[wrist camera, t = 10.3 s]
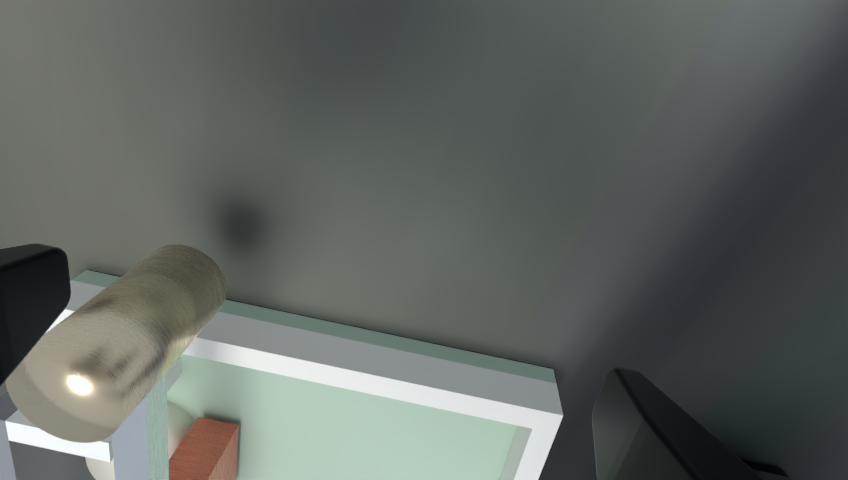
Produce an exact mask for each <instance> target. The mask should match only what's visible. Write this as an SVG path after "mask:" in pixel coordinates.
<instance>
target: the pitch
mask: <svg viewBox="0 0 848 480" xmlns="http://www.w3.org/2000/svg"><path fill="white" fill-rule="evenodd" d="M118 278H120V277H117V276H113V275H108V274H103V273H99V272H94V271H89V270H86V271H84V272H83V273H81V274H80V275H78V276H77V277H75V278H74V279H72V280H71V281H70V286H71V297H70V301H69V303H68V305H67V307H66V308H65V310H64V311H63V312H62V313H61V314H60V316H59V317H58V318H57V319H56V321H55V322H54V323H53V324H52V325H51V327H50V328H49V329H48V330H47V331H46V333H47V332H48V331H49V330H51V329H52V328H53V327H55V326H56V325H57V324H59V323H60V322H61V321H63V320H64V319H65V318H67V317H68V316H69V315H71V314H72V313H73V312H75V311H76V310H77V309H79V308H80V307H81V306H83V305H84V304H85V303H87V302H88V301H89V300H91V299H92V298H93V297H95V296H96V295H97V294H99V293H100V292H101V291H102V290H104V289H105V288H106V287H108V286H109V285H110V284H112V283H113V282H114V281H116V280H117V279H118ZM167 400H168V401H170V402H172V403H174V404H176V405H178V406H180V407H181V408H183V409H184V410H185V411H186V412H188V413H189V414H190V415H191V416H192V418H193V419H194V420H195V421H196V420H197V418H198V417H203V418H208V419H212V420H217V421H221V422H226V423H231V424H235V425H239V431H238V450H237V470H236V480H538V479H539V476H540V474H541V471H542V468H543V466H544V463H545V461H546V458H547V456H548V453H549V451H550V448H551V445H552V443H553V440H554V438H555V435H556V433H557V430H558V428H559V425H560V422H561V420H562V417H563V412H562V408H561V403H560V398H559V393H558V389H557V384H556V379H555V375H554V370H553V369H550V368H545V367H540V366H536V365H531V364H526V363H521V362H517V361H512V360H507V359H503V358H498V357H493V356H489V355H484V354H479V353H474V352H470V351H465V350H460V349H456V348H451V347H446V346H442V345H437V344H432V343H428V342H423V341H418V340H413V339H409V338H404V337H399V336H395V335H390V334H385V333H381V332H376V331H371V330H366V329H362V328H357V327H352V326H348V325H343V324H338V323H334V322H329V321H324V320H319V319H315V318H310V317H305V316H301V315H296V314H291V313H287V312H282V311H277V310H272V309H268V308H263V307H258V306H254V305H249V304H244V303H240V302H235V301H230V300H226V299H225V302H224V304H223V306H222V307H221V309H220V310H219V311H218V312H217V313H216V314H215V316H214V317H213V318H212V319H211V320H210V322H209V323H208V324H207V325H206V326H205V327H204V329H203V330H202V331H201V332H200V333H199V334H198V336H197V337H196V338H195V339H194V340H193V341H192V343H191V344H190V345H189V346H188V347H187V348H186V350H185V351H184V352H183V353H182V354H181V355H180V357H179V358H178V359H177V360H176V361H175V362H174V364H173V365H172V366H171V367H170V368H169V369H168V371H167ZM85 457H88V458H93V459H97V460H102V461H107V462H111V461H112V460H113V449H112V437H111V436H109V437H108V438H106V439H104V440H101V441H97V442H91V443H79V442H72V441H67V440H63V439H60V438H58V437H55V436H53V435H51V434H48V433H47V432H45V431H43V430H41V429H40V428H38V427H37V426H35V425H34V424H33V423H31V422H30V421H29V420H28V419H27V418H26V417H25V416H24V415H23V414H22V413H21V412H20V411H19V410H18V409H17V407H16V406H15V404H14V403H13V401H12V399H11V398H10V395H9V393H8V392H7V393H6V394H5V395H3V396H2V397H1V398H0V480H96V479H95V478H94V477H93V476H92V474H91V473H90V471H89V469H88V467H87V464H86V459H85Z"/></svg>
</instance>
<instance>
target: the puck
mask: <svg viewBox="0 0 848 480" xmlns="http://www.w3.org/2000/svg"><path fill="white" fill-rule="evenodd" d="M167 416H168V460H169V459H170V458H171V456H172V455H173V453H174V452H175V450H176V449H177V447H178V446H179V444H180V443H181V441H182V440H183V439H184V437H185V436H186V434H187V433H188V431H189V430H190V428H191V427H192V425H193V424H194V422H195V420H194V419H193V418H192V416H191V415H190V414H189V413H188V412H186V411H185V410H184V409H183V408H181V407H180V406H178V405H176V404H174V403H172V402H170V401H168V400H167ZM85 459H86V464H87V467H88V469H89V471H90V473H91V474H92V476H93V477H94V478H95V479H96V480H115V473H114V461H113V460H112V461H111V462H107V461H102V460H97V459H93V458H88V457H85Z"/></svg>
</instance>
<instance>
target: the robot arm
mask: <svg viewBox="0 0 848 480" xmlns="http://www.w3.org/2000/svg"><path fill="white" fill-rule="evenodd" d="M70 297H71V286H70V277H69V268H68V259H67V255H66V253H65V252H64V251H63V250H62V249H60V248H57V247H52V246H47V245H43V244H28V245H23V246H17V247H11V248H5V249H0V386H1V385H2V384H3V383H4V382H5V381H6V379H7V378H8V377H9V376H10V375H11V374H12V372H13V371H14V370H15V369H16V368H17V367H18V365H19V364H20V363H21V362H22V361H23V359H24V358H25V357H26V356H27V354H28V353H29V352H30V351H31V350H32V348H33V347H34V346H35V345H36V344H37V342H38V341H39V340H40V339H41V337H42V336H43V335H44V334H45V333H46V331H47V330H48V329H49V328H50V327H51V325H52V324H53V323H54V322H55V321H56V319H57V318H58V317H59V316H60V314H61V313H62V312H63V311H64V310H65V308H66V307H67V305H68V303H69V301H70ZM592 425H593V437H594V448H595V460H596V471H597V480H790V479H789V477H788V476H787V474H786V473H785V472H784V471H783V470H780V469H776V468H771V467H767V466H762V465H757V464H753V463H748V462H743V461H742V460H741V459H740V458H738V457H737V456H736V455H735V454H734V453H733V452H731V451H730V450H729V449H728V448H727V447H726V446H724V445H723V444H722V443H721V442H720V441H719V440H718V439H716V438H715V437H714V436H713V435H712V434H711V433H709V432H708V431H707V430H706V429H705V428H704V427H702V426H701V425H700V424H699V423H698V422H697V421H695V420H694V419H693V418H692V417H691V416H690V415H688V414H687V413H686V412H685V411H684V410H683V409H681V408H680V407H679V406H678V405H677V404H676V403H674V402H673V401H672V400H671V399H670V398H669V397H667V396H666V395H665V394H664V393H663V392H662V391H660V390H659V389H658V388H657V387H656V386H655V385H654V384H652V383H651V382H650V381H649V380H648V379H647V378H645V377H644V376H643V375H642V374H641V373H639V372H637V371H634V370H630V369H625V368H620V367H613V368H611V369H610V370H609V372H608V373H607V375H606V378H605V380H604V383H603V385H602V387H601V390H600V392H599V394H598V397H597V399H596V402H595V404H594V407H593V412H592Z"/></svg>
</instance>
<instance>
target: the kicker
mask: <svg viewBox="0 0 848 480" xmlns="http://www.w3.org/2000/svg"><path fill="white" fill-rule="evenodd" d="M226 294H227V286H226V282H225V278H224V276H223V274H222V272H221V270H220V269H219V267H218V266H217V265H216V263H215V262H214V261H213V260H212V259H211V258H209V257H208V256H207V255H206V254H204V253H203V252H201V251H199V250H197V249H195V248H192V247H189V246H185V245H167V246H164V247H161V248H159V249H157V250H156V251H154V252H153V253H152V254H150V255H149V256H148V257H146V258H145V259H144V260H142V261H141V262H140V263H138V264H137V265H136V266H134V267H133V268H132V269H130V270H129V271H128V272H126V273H125V274H124V275H122V276H121V277H120V278H118V279H117V280H116V281H114V282H113V283H112V284H110V285H109V286H108V287H106V288H105V289H104V290H102V291H101V292H100V293H99V294H97V295H96V296H95V297H93V298H92V299H91V300H89V301H88V302H87V303H85V304H84V305H83V306H81V307H80V308H79V309H77V310H76V311H75V312H73V313H72V314H71V315H69V316H68V317H67V318H65V319H64V320H63V321H61V322H60V323H59V324H57V325H56V326H55V327H53V328H52V329H51V330H49V331H48V332H47V333H45V334H44V335H43V336H42V337H41V339H40V340H39V341H38V342H37V344H36V345H35V346H34V347H33V348H32V350H31V351H30V352H29V353H28V354H27V356H26V357H25V358H24V359H23V361H22V362H21V363H20V364H19V365H18V367H17V368H16V369H15V370H14V371H13V372H12V374H11V375H10V376H9V377H8V378H7V379H6V387H7V390H8V393H9V395H10V398H11V399H12V401H13V403H14V404H15V406H16V407H17V409H18V410H19V411H20V412H21V413H22V414H23V415H24V416H25V417H26V418H27V419H28V420H29V421H30V422H31V423H33V424H34V425H35V426H37V427H38V428H40V429H41V430H43V431H45V432H47V433H48V434H51V435H53V436H55V437H58V438H60V439H63V440H67V441H72V442H79V443H91V442H97V441H101V440H104V439H106V438H108V437H109V436H111V437H112V449H113V461H114V473H115V480H236V470H237V450H238V431H239V425H235V424H231V423H226V422H221V421H217V420H212V419H208V418H203V417H198V418H197V420H196V421H195V422H194V424H193V425H192V427H191V428H190V430H189V431H188V433H187V434H186V436H185V437H184V439H183V440H182V441H181V443H180V444H179V446H178V447H177V449H176V450H175V452H174V453H173V455H172V456H171V458H170V459H169V460H168V416H167V371H168V369H169V368H170V367H171V366H172V365H173V364H174V362H175V361H176V360H177V359H178V358H179V357H180V355H181V354H182V353H183V352H184V351H185V350H186V348H187V347H188V346H189V345H190V344H191V343H192V341H193V340H194V339H195V338H196V337H197V336H198V334H199V333H200V332H201V331H202V330H203V329H204V327H205V326H206V325H207V324H208V323H209V322H210V320H211V319H212V318H213V317H214V316H215V314H216V313H217V312H218V311H219V310H220V309H221V307H222V306H223V304H224V302H225V299H226Z"/></svg>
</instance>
